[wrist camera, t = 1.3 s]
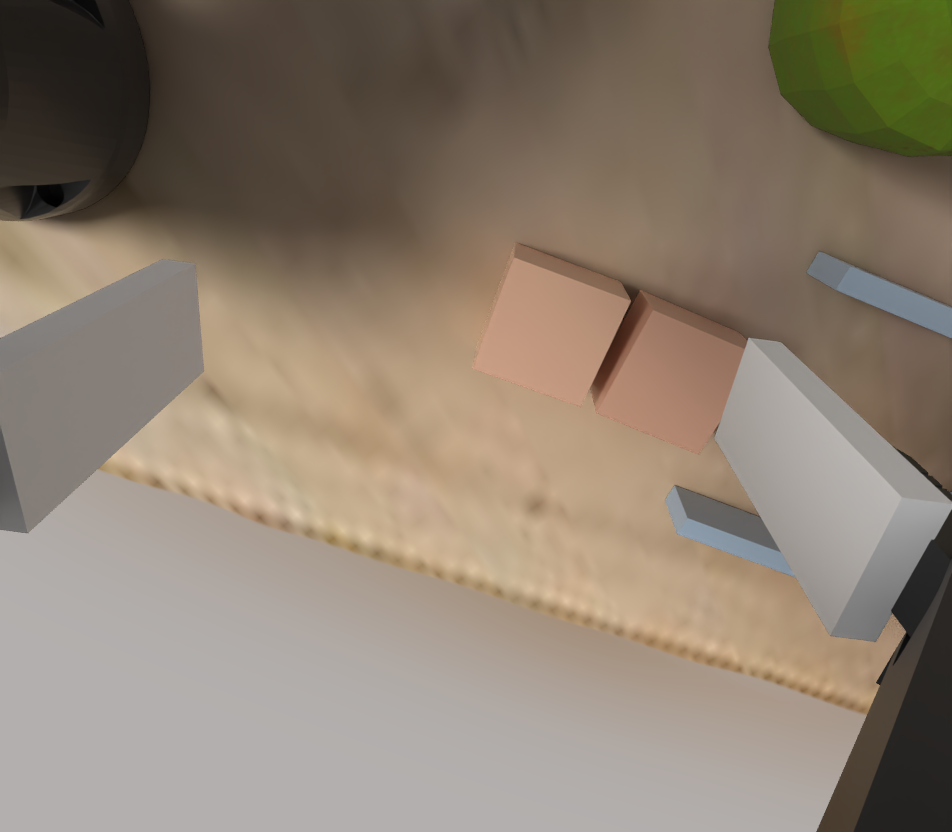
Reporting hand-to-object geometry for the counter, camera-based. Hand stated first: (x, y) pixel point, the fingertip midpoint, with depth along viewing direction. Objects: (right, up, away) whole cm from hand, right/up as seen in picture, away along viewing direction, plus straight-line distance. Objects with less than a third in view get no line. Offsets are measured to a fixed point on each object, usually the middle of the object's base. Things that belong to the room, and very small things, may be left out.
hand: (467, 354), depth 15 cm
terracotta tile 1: (+4, +4, +20) cm, 21 cm away
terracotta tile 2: (+11, +2, +20) cm, 23 cm away
